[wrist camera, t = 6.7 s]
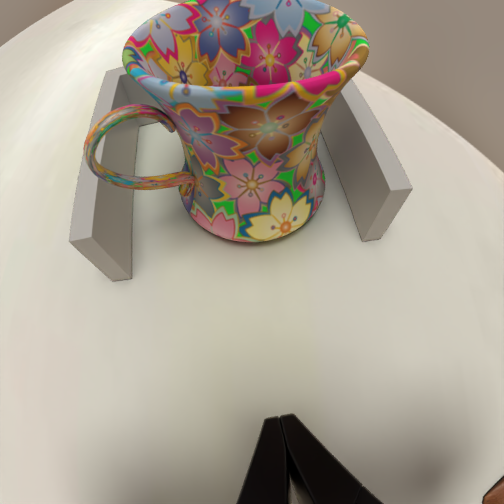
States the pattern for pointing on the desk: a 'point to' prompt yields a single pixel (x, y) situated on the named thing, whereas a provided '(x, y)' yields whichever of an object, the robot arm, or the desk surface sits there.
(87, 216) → the grey open tray
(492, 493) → the sunglasses case
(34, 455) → the desk surface
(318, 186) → the mug
